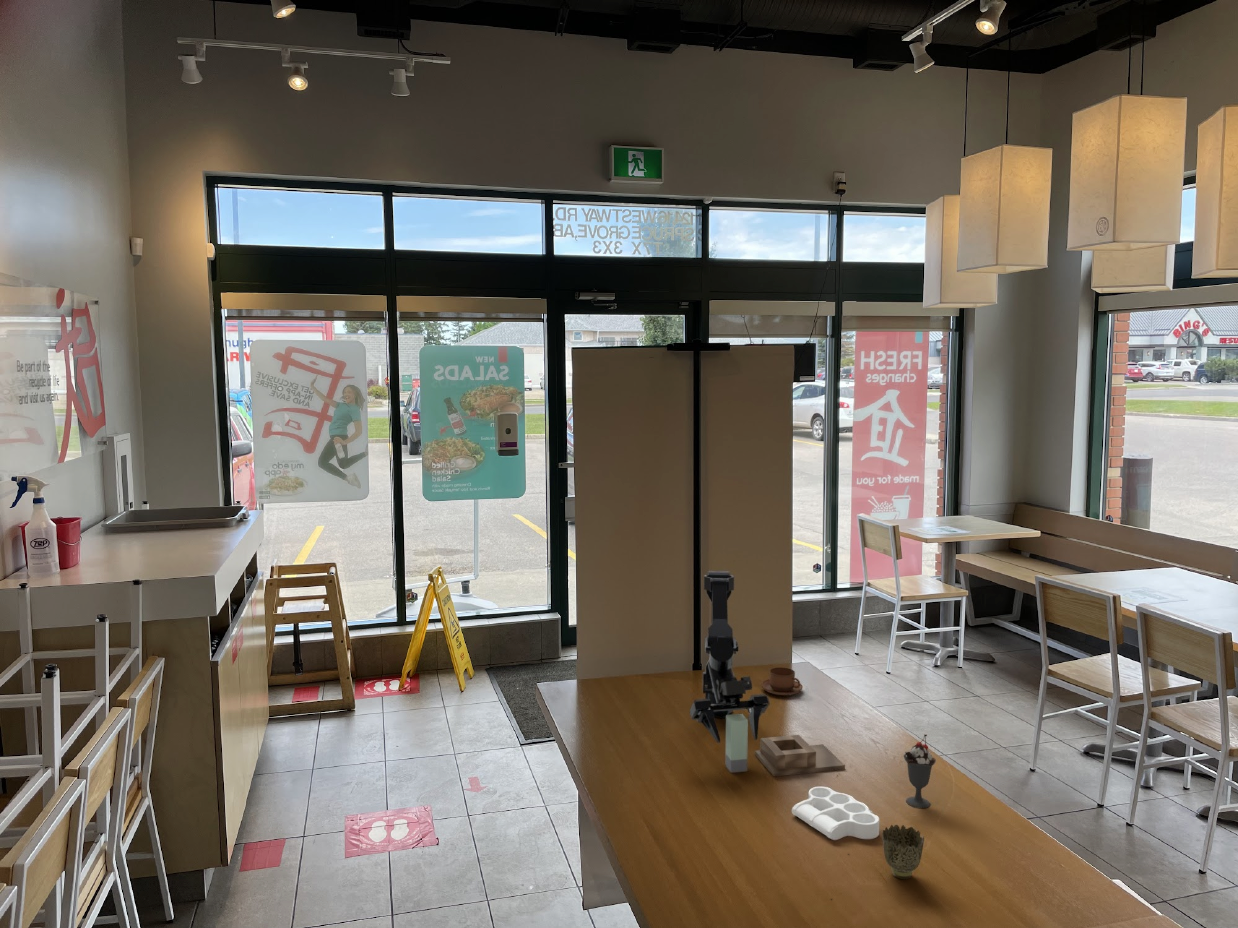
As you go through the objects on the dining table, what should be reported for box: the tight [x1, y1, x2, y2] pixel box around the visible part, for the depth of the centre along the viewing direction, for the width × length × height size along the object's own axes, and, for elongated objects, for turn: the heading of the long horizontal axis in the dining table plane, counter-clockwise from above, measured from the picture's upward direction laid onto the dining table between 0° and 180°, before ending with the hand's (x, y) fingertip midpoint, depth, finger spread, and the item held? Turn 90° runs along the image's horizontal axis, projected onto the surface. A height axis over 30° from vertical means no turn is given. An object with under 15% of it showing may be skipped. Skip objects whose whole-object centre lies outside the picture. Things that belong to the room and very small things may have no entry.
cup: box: [881, 824, 925, 880], centre depth 161 cm, size 8×7×8 cm
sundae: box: [903, 734, 937, 809], centre depth 188 cm, size 7×7×15 cm
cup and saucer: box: [761, 667, 804, 697], centre depth 256 cm, size 12×12×6 cm
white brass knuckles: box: [791, 786, 880, 841], centre depth 181 cm, size 3×18×15 cm
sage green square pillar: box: [724, 713, 749, 774], centre depth 205 cm, size 4×4×12 cm
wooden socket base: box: [754, 734, 846, 777], centre depth 209 cm, size 18×12×4 cm, turn 102°
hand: (737, 740), depth 204 cm, fingers open, 9 cm apart
